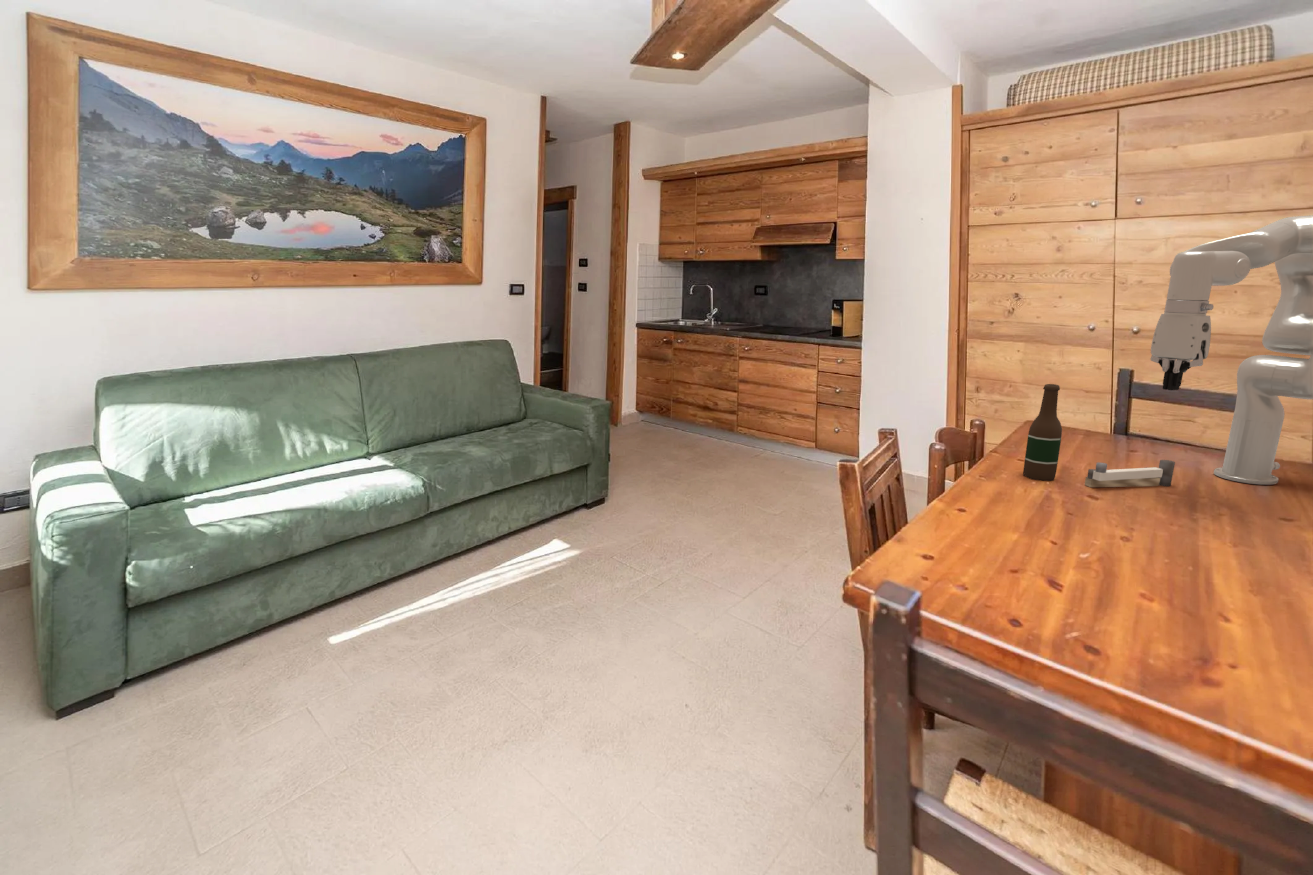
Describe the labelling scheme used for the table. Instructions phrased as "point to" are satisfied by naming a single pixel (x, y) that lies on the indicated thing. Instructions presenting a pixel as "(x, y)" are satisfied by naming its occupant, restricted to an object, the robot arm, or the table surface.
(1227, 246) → the robot arm
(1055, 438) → the beer bottle
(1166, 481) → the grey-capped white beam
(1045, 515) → the table surface
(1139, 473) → the tongs moving jaw
